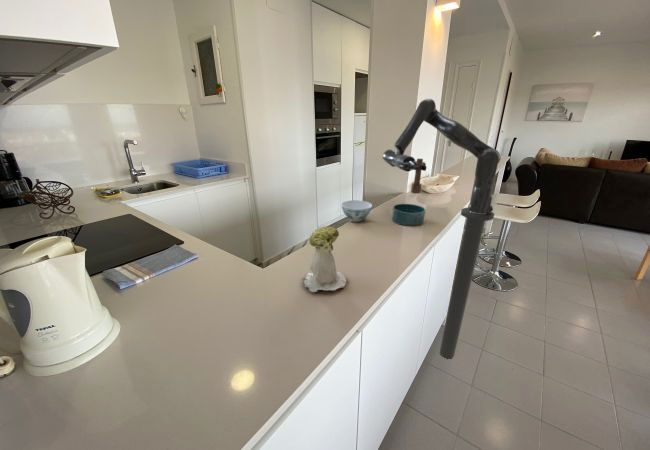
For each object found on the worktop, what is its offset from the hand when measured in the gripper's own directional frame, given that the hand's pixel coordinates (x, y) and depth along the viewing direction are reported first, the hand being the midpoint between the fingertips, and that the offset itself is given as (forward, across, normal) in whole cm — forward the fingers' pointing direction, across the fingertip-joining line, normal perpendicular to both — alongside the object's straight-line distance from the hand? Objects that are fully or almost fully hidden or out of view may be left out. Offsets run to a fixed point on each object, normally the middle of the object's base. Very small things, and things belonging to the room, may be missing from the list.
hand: (422, 168), depth 127 cm
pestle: (-3, 0, +12) cm, 12 cm away
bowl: (-1, -4, +26) cm, 26 cm away
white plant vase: (+45, -55, +26) cm, 75 cm away
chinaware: (-8, -28, +26) cm, 39 cm away
